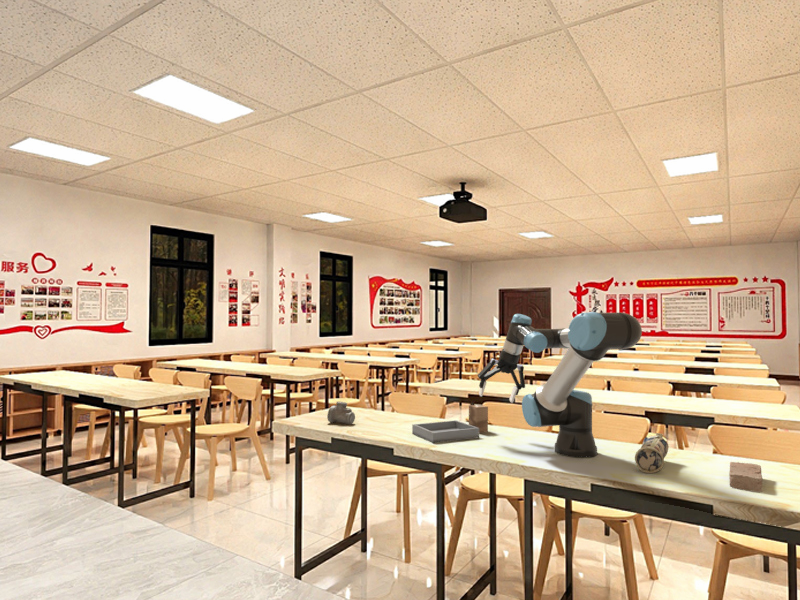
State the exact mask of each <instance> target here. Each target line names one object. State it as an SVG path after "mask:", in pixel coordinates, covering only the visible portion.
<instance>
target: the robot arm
mask: <svg viewBox="0 0 800 600" xmlns="http://www.w3.org/2000/svg"><path fill="white" fill-rule="evenodd" d="M532 321H533V320H532V317H530V316H527V315H525V314H521V313H515V314H514V315H513V316H512V319H511V321H510V325H509V327H508V331H507V334H506V337H505V340H504V343H503V345H502V349H501V352H500V355H499V357H498V359H495V358H493V357H492V358H490V360H489V362H488V363H487V365H486V366H484V367H483V368H482V370H481V371H480V372H479V373H478V374H477V377H478V379H479V380H480V382H479V385H478V386H479V388H480V389H479V391H478V395H479V397H483V395H484V392H485V388H486V386H487V380H489V379H491V378H492V377H493V376H495V375H496V374H499V373H503V374H504V373H505V374H508V375H509V374H510V375H511V377H512V379H513V381H514V384H515V385H513V387H512V391H511V394H510V396H509V399H508V400H509V402H510V403H511V404H513V403H514V401H515V397H516V396H518V395H519V392H520V390H521V389H525V388H526V383H525V375H524V367H525V366H524V365H523V364H521V363H520V364H518V363H519V360H520V357H521V353H522V351H523V348H524V347H525V348H526V349H527V350H528V351H529V350H530V351H531V352H532V353H541V352H543V351H545V349H567V350H566V352H565V354H564V356H563V357H562V358H561V360H560V361H559V363H558V364H557V366H556V367H555V368H554V370H553V372H552V374H551V375H550V376H549V378H548V379H547V381H546V382H545V384H541V385H540V386H538V387H537V388H536V390H535V391H534V393H532V394H531V393H528V394H525V395H524V396H523V398H522V401H521V409H522V410H521V411H522V415H523V418H524V420H525V422H526V423H527V425H529V426H530V427H532V428H542V427H556V426H559V427H558V428H559V429H558V432H557V433H558V434H557V437H556V442H555V443H554V446H553V449H554V452H555V453H556V454H558V455H562V456H565V457H569V458H570V457H572V458H593V457H596V456H597V455H598V447H597V445H596V440H595V439H594V435H593V434H594V433H593V396H592V395H591V393H589V392H587V391H582V390H577V389H575V388H576V387H577V386H578V384H579V383H580V381H581V379H582V378H583V377H584V376H585V374H586V373H587V371H588V370H589V368H590V367H591V366H592V364H593V363H594V362H598V361H601V360H602V359H603V358H604V357H605V356H606V354H607V353H608V351H609V350H612V351H613V350H614V351H615V350H627V349H631V348H632V347H634V346H636V345H637V344H638V343H639V342H640V340H641V338H642V334H643V331H642V330H643V329H642V326H641V323H640V322H639V320H638V319H637V318H636V317H635V316H633V315H631V314H629V313H625V312H598V311H597V312H596V311H588V312H581V313H579V314H576V315H575V316H574V317H573V318H572V319H571V321H570V323H569V326H568V327H562V328H553V329H552V328H534V327H533V326H532V323H533V322H532ZM496 364H497V365H496ZM495 365H496V366H495ZM493 367H494V368H493ZM492 368H493V369H492ZM516 369H517V370H518V371H517V372H518V376H519V380H518V378H517V375H516V373H515V370H516Z"/></svg>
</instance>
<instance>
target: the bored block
mask: <svg viewBox="0 0 800 600" xmlns="http://www.w3.org/2000/svg"><path fill="white" fill-rule="evenodd" d="M468 424H469V425H472V426H475V427H478V428H479V434H480V433H481V434H482V433H488V432H489V430H488V429H489V406H487V405H483V404H469V405H468Z"/></svg>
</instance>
